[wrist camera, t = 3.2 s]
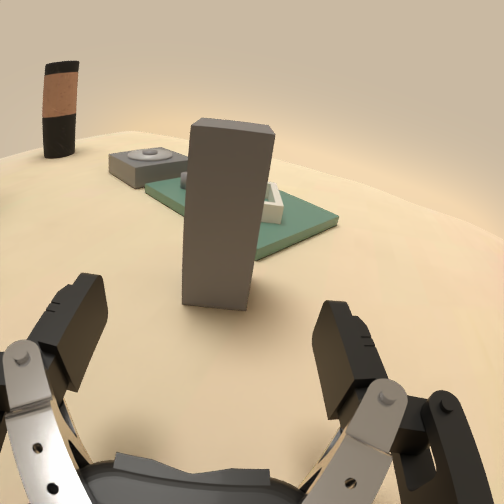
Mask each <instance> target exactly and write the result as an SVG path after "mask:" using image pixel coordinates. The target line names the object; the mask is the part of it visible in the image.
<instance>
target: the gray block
mask: <svg viewBox="0 0 504 504" xmlns="http://www.w3.org/2000/svg"><path fill="white" fill-rule="evenodd" d="M274 140H275V133H274V132H273V131H272V129H271V128H270V127H269V125H262V124H255V123H248V122H240V121H231V120H221V119H211V118H201V119H199V120H198V121H197V122H195V123H194V124H192V125H191V131H190V141H189V153H188V165H187V179H186V194H185V211H184V232H183V262H182V304H185V305H193V306H202V307H211V308H221V309H231V310H241V311H246V308H247V302H248V296H249V290H250V284H251V278H252V272H253V266H254V260H255V254H256V248H257V242H258V236H259V231H260V225H261V219H262V213H263V207H264V201H265V195H266V189H267V183H268V177H269V171H270V165H271V158H272V152H273V146H274Z"/></svg>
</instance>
